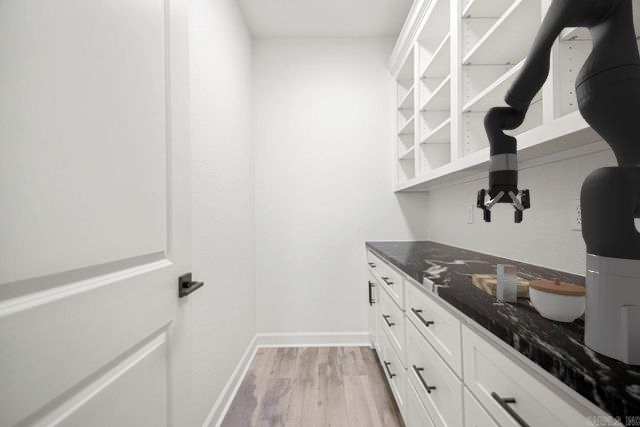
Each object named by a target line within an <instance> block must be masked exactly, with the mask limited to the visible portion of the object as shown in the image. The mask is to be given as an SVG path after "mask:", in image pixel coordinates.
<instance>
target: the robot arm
mask: <svg viewBox="0 0 640 427" xmlns="http://www.w3.org/2000/svg"><path fill="white" fill-rule="evenodd" d="M633 13H634V10H633V0H552V1H551V3H550V5H549V7H548V8H547V11H546V13H545V15H544V17H543V20H542V23H541V24H540V26H539V28H538V30H537V33H536V35H535V37H534V40H533V42H532V45H531V47H530V49H529V51H528V54H527V55H526V57H525V60H524V62H523V64H522V65H521V67H520V69H519V70H518V73H517V74H516V76H515V78H514V79H513V81H512V82H511V83H510V86H509V87H508V89H507V90H506V91H505V93H504V96H503V100H504V103H505V104H506V105H507V106H492V107H490V108H489V109H487V111H486V112H485V114H484V116H483V127H484V130H485V133H486V137H487V140H488V142H489V143H488V144H489V163H488V169H487V170H488V189H485V188H481V189H478V190H477V196H476V208H477V209H481V210H482V212H483V213H482V215H483V221H484V222H485V223H491V221H492V220H491V218H492V215H491V214H492V211H491V208H492V207H494V206H495V205H496V204H509V205H510V206H511V207H512V208H513V209H514V210H515V211H513V212H514V220H513V221H514V223H515V224H521V223H522V221H523V219H524V217H523V216H524V215H523V213H524V211H525V210H528V209H530V208H531V198H530V197H531V195H530V190H529V188H526V189H525V188H524V189H519V188H518V184H519V161H518V151H517V150H518V140H517V138H516V137H515V136H513V135H509V134H506V133H505V132H504V131H513V130H516V129H518V128H519V127H521V126H522V124H523V123H524V121H525V119H526V115H527V113H528V111H529V108H530V105H531V103H532V101H533V100H534V98H536V96H537V94H538V93H539V92H540V91H541V89H542V88H543V86H544V85H545V83H546V82H547V80H548V77H549V74H550V69H551V52H552V48H553V46H554V43H555V42H556V40H557V38H559V36H560V34H562V32H563V30H564V29H566V28H567V29H568V28H569V29H570V28H576V29H577V28H586V29H587V30H588V31H589V33H590V36H591V43H592V48H591V51H590V53H589V55H588V57H587V58H586V60H585V61H584V63H583V64H582V67H581V68H580V70H579V72H578V74H577V75H576V78H575V81H574V82H575V83H574V90H575V97H576V102H577V107H578V111H579V114H580V116H581V117H582V119H583V120H584V121H585V122H586V123H587V125H588V126H589V127H590V128H592V130H594V131H595V133H597V135H599V136H600V138H602V139H603V140H604V142H606V143H607V144H608V146H609V147H610V149H611V150H612V152H613V154H614V156H615V159H616V163H617V166H603V167H599V168H597V169H593V171H590V173H588V175H587V176H586V177H585V178H584V180H583V181H582V184H581V188H580V193H579V196H580V197H579V207H580V208H579V209H580V221H581V222H580V223H581V224H580V226H581V236H582V239H583V242H584V243H585V246H586V248H585V249H586V250H585V251H586V252H585V286H584V288H585V311H584V345H586V347H588V348H589V349H590V350H592V351H594V352H596V353H598V354H601V355H603V356H606V357H608V358H611V359H615V360H618V361H620V362H622V363H624V364H626V365H633V366H640V231H639V230H638V229H637V227H636V223H635V219H640V50H639V46H638V40H637V34H636V29H635V24H634V22H635V21H634V14H633ZM487 195H488V196H489V199H488V200H487V201H486V202H485V199H486V196H487ZM517 196H519V197H520V200H519V198H518V197H517Z"/></svg>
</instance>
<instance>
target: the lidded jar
mask: <svg viewBox="0 0 640 427" xmlns="http://www.w3.org/2000/svg"><path fill="white" fill-rule="evenodd" d="M528 281H529V294H530V297H529V299H530V303H531V304H532V306H533V308H535V310H536V311H537V312H539V315H540V316H541V317H543V318H545V319H549V320H551V321H556V322H560V323H561V322H563V323H572V322H574V321H575V320H576V319H578V318H580V317H581V316H582V315H584V314H585V286H582V285H578V284H575V283H569V282H564V281H561V279H560V278H558V277H554V278H553V280H551V279H550V280H548V279H532V280H528Z"/></svg>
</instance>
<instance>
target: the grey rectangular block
mask: <svg viewBox="0 0 640 427" xmlns="http://www.w3.org/2000/svg"><path fill="white" fill-rule="evenodd" d="M496 271H497V272H496V275H497V296H496V299H497V300H500V301H501V302H503V303H517V298H518V297H517V277H518V266H516V265H513V264H506V263H497V264H496Z"/></svg>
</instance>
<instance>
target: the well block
mask: <svg viewBox="0 0 640 427" xmlns="http://www.w3.org/2000/svg"><path fill="white" fill-rule="evenodd" d="M529 281H530V280H527V279H524V278H523V277H519V276H517V298H530V294H529ZM471 284H472V285H474V286H475V287H477V288H478V289H480V290H482V291H484V292H485V293H487V294H488V295H490V296H494V297H497V274H487V273H472V274H471Z"/></svg>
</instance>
